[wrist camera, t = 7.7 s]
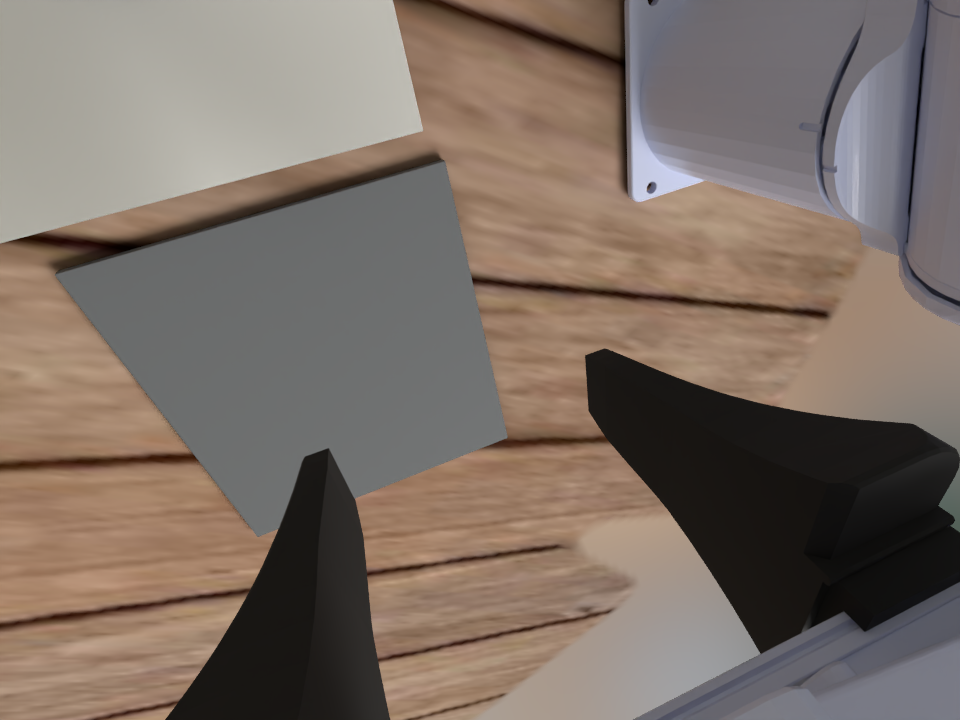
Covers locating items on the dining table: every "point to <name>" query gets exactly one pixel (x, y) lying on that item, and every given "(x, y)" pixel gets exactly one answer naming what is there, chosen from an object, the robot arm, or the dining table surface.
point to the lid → (184, 97)
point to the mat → (308, 338)
